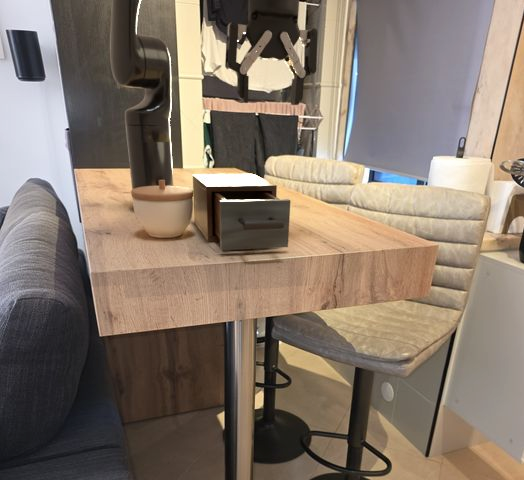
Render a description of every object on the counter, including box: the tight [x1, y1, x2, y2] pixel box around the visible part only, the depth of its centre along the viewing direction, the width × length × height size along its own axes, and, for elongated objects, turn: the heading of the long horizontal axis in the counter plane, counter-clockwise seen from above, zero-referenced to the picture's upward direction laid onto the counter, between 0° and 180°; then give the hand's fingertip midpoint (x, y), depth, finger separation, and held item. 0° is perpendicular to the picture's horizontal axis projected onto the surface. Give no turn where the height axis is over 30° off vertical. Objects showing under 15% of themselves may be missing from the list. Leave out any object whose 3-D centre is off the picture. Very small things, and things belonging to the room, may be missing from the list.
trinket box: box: [130, 180, 194, 239], centre depth 81 cm, size 11×11×9 cm
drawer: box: [212, 191, 291, 251], centre depth 75 cm, size 20×11×7 cm, turn 16°
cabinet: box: [192, 173, 278, 243], centre depth 86 cm, size 16×12×9 cm
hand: (269, 104), depth 74 cm, fingers open, 8 cm apart
